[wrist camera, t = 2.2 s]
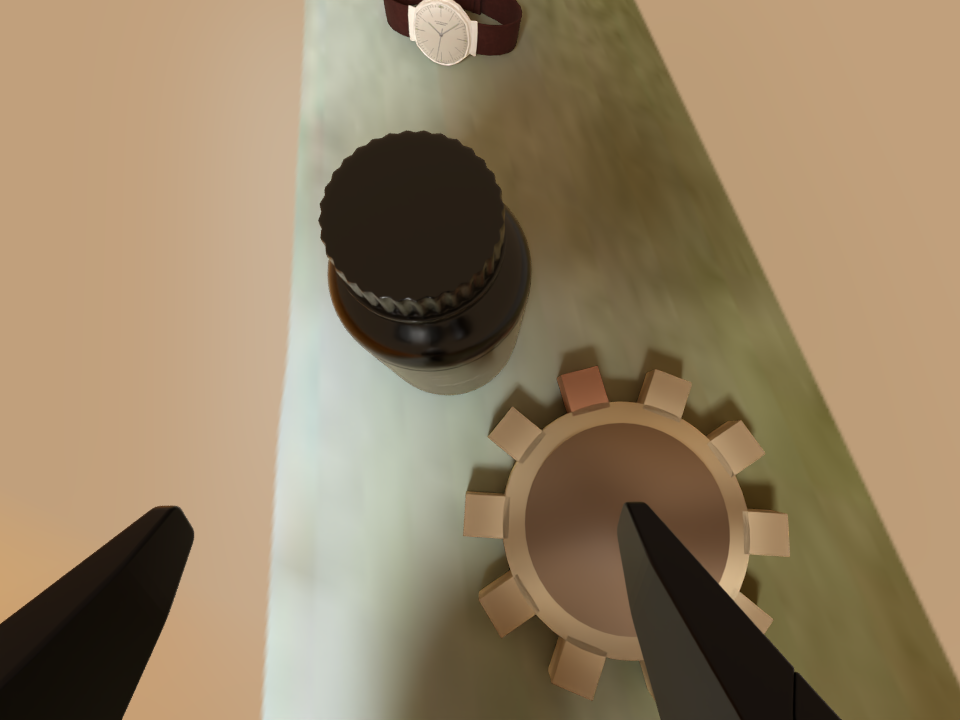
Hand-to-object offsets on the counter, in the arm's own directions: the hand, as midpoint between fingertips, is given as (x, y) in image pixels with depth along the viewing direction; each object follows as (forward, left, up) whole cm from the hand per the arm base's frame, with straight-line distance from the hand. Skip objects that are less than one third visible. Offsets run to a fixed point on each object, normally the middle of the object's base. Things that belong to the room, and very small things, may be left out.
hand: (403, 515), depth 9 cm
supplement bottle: (+7, -2, -13) cm, 15 cm away
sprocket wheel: (-4, -7, -13) cm, 15 cm away
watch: (+24, -6, -13) cm, 28 cm away
